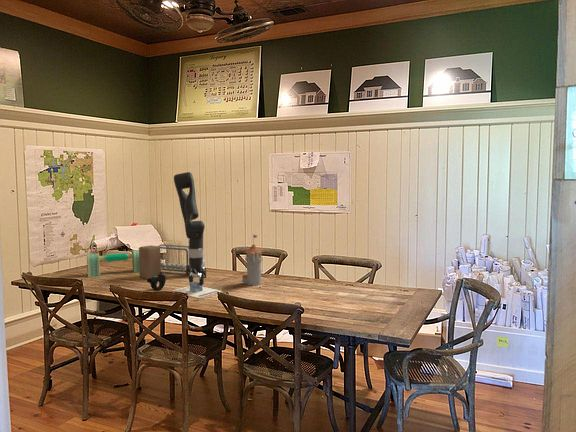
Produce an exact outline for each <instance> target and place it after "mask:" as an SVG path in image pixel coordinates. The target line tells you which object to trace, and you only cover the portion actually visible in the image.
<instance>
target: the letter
mask: <svg viewBox="0 0 576 432" xmlns="http://www.w3.org/2000/svg"><path fill="white" fill-rule="evenodd" d="M202 289H203V291H200V292H196V293H195V292H191V291H190V285H188V286H185V287H181V288H176V289H173V290H171V291H179V292H185V293H187V294H188V295H187V296H189V297H192V298H196V299H200V298H205V297H207V296H211V295H214V294H218V293H217V292H219V293H222V292H223V291H222V290H219V289H216V288H215V289H214V288H210V287H206V286H202Z"/></svg>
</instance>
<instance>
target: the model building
mask: <svg viewBox="0 0 576 432" xmlns="http://www.w3.org/2000/svg"><path fill="white" fill-rule="evenodd" d="M257 237H258V235H256V234H253V242H252V243H253V244H252V246H250V247H249V249H247V250H246V251H245V262H246V274H243V275H242V285H247V284H248V286H253V285H254V286H260V285H261V284H262V261H263V256H262V253H263V251H262V250H260V249H259V248H258V247H257V246H256V244H254V243H255V242H254V240H255V239H257Z"/></svg>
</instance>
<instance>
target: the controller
mask: <svg viewBox="0 0 576 432" xmlns="http://www.w3.org/2000/svg"><path fill="white" fill-rule="evenodd" d="M163 272H164V271H163ZM163 272H159V273H160V274H159V275H158V276H155V277H151V278H148V279H146V282H147V283H148V284H149V285H150V287H151V289H153V290H155V291H161V290H162V289H164V287H165V285H166V280H167V275H166V274H164V273H163ZM157 284H158V286H157Z"/></svg>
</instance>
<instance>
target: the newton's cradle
mask: <svg viewBox="0 0 576 432" xmlns="http://www.w3.org/2000/svg"><path fill="white" fill-rule="evenodd" d="M158 246H159V247H160V253H162V252H163V251H162V250H165V251H166V252H165V253H166V254H169V255H168V256H169V257H170V256H172V252H169V253H167V250H173V254H175V258H177V261H176V263H174V259H171V260H172V263H170V262H167V263H166V262H164V257H165V253H164V255H163V257H161V258H162V260H161V261H162V262H161V269H162V270H163V271H162V270H161V272H163V273H162V274H169V275H177V276H178V275H179V276H187V275H186V265H189V245H175V244H162V243H161V244H159V245H158ZM177 250H178V252H182V251H184V252H185V255H186V257H185V256H183V257H182V256H181V259H182V261H184V257H185V259H186V261H185V262H186V265H185V264H184V263H181V264H179V260H180V259H179V258H178V257H177V254H176V251H177ZM169 257H167V261H169ZM172 270H173V271H172ZM171 271H172V272H171ZM183 271H184V273H183ZM181 272H182V273H181ZM188 273H189V271H188Z"/></svg>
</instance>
